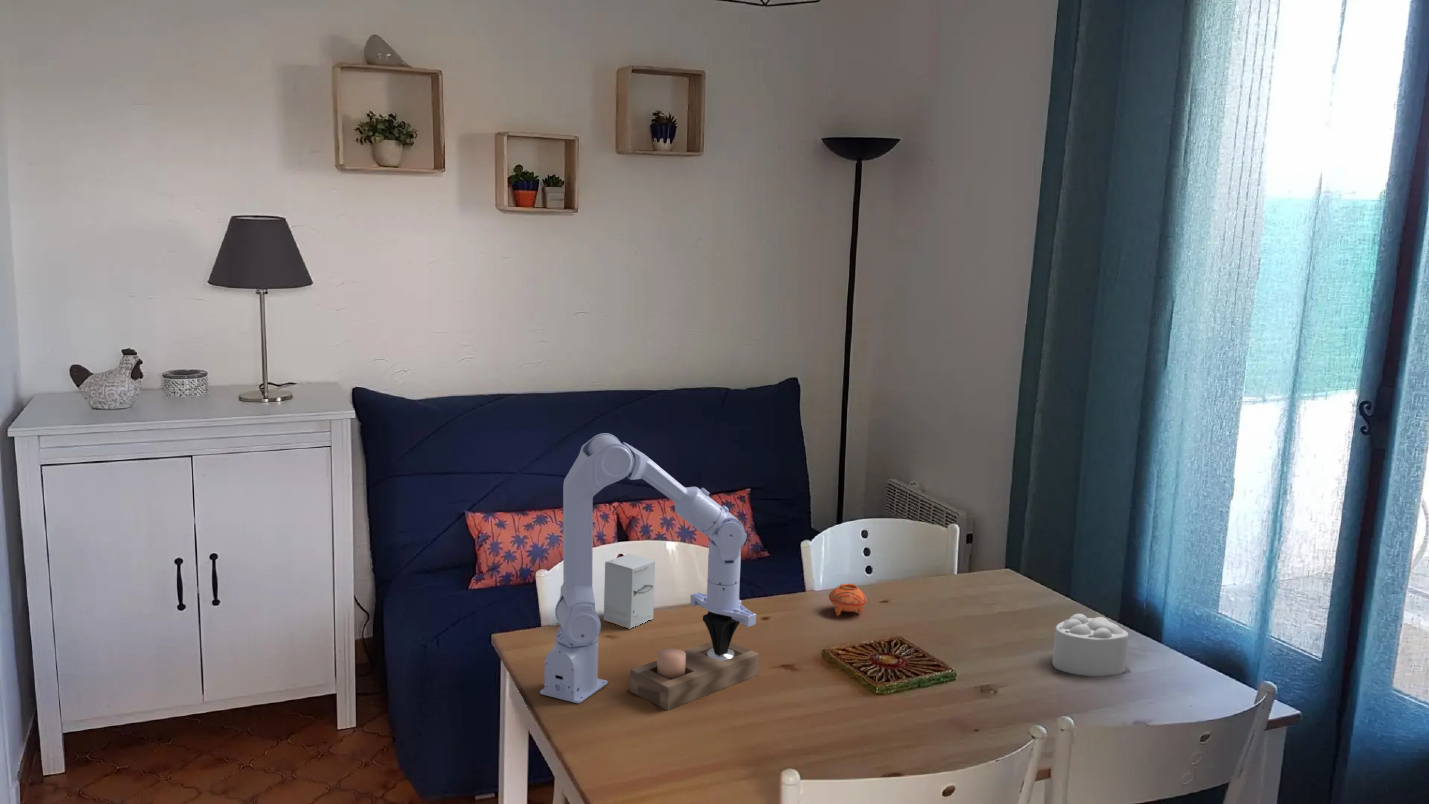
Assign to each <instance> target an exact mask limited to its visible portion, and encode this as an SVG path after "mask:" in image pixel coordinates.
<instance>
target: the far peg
mask: <svg viewBox="0 0 1429 804" xmlns="http://www.w3.org/2000/svg"><path fill="white" fill-rule="evenodd" d="M707 656H709V657H711V658H714V659H716V660H718V661H724V660H727V659H729V658H732V657H734V652H733V651H732V650H730V649H728V652H727V653H725V654H722V655H717V654H715V653H714V649H713V648H712V649H710V650H708V652H707Z"/></svg>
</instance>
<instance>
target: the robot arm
mask: <svg viewBox="0 0 1429 804" xmlns="http://www.w3.org/2000/svg"><path fill="white" fill-rule="evenodd" d="M626 477H627V478H628V479H629V481H630V480H632V481H633V480H644V481H645V482H646V483H648V485H650V486H652V487H653V488H655V489H656V490H657V491H658V492H660V493H661V494H663V495H664V496H666V497H667V498H668V499H670V500H671V501H672V502H673V503H674V509H675V510H674V512H675V513H676V515H678V516H679V517H680V518H682V519H683V520H684V521H686V522H687V523H688V524H690V525H691V526H692V527H694V529H696V530H697V531H698V532H700V533H701V534H702V535H705V536H706V537H707V538H708V539H709V540H708V555H707V557H708V558H707V578H706V579H707V580H706V581H707V583H706V584H707V585H706V586H707V587H706V594H705V593H702V592H699V591H698V592H694V593H692V594H690V605H691V606H694V607H695V606H698V607H701V608H703V609H705V610H706V611H708V612H707V613H706V614H704V615H702V621H703V622H704V624H705V626H706V628H707V630H708V633H709V635H710V639H711V642H712V644H713V649H714V653H715V654H717V655H722V654H725V653H727V652H728V648H729V645H730V642H732V638H733V636H734V633H735V631H736V630H737V629H738V627H739V625H740V623H741V624H744V626H745V627H747V628H749V627H752V626H755V625H756V624H757V613H754V612H752V611H751V610H749V609H748V608H746V607H745V605H743V604H742V600H741V599H740V584H741V583H740V580H741V579H740V578H741V561H742V560H741V559H742V558H741V548H742V547H743V546H744V544H745V543H746V540H747V536H748V534H747V533H746V530H745V529H746V528H745V526H744V524H743V523H742V522H741V521H740V520H739V519H738V518H737V517H735V515H733V514H732V513H731V512H730V511H729V510H730V509H729V508H728V507H727V506H725V505H724V504H723V505H722V506H721V504H720V503H717V502H716V501H715V500H714V499H713V498H711V497H710V496H709V495H710V493H711V492H709V491H708V490H706V488H704V487H701V488H699V487H697V486H689V487H686V486H684V485H682V484H681V483H680V482H678V480H676V479H675V478H674V477H673V476H672V475H670V474H669V473H668V472H667V471H665V470H664V469H663V468H661V466H659V465H658V464H657V463H656V462H655V461H653V460H652V459H651V458H649V456H647V455H646V454H645V453H643V452H641V451H640V450H639V449H637V448H635V447H633V445H630V444H628V443H626V442H624V441H623V442H621V441H620V439H619V438H618V437H616V436H615V435H613V434H611V433H608V432H607V433H606V432H605V433H604V432H603V433H599V434H595V435H594V436H593V437H592V438H591V439H589V440H587V442H585V443H584V444H582V446H581V447H580V451H579V454H578V456H577V458H576V459H575V461H574V462H573V465H572V466H571V468H570V469H569V471H568V473H567V475H566V476H565V477H564V480H563V486H562V489H563V491H562V493H563V495H562V496H563V499H562V500H563V501H562V506H563V507H562V508H563V513H562V514H563V515H562V518H563V519H562V520H563V523H562V524H563V528H562V529H563V530H562V531H563V535H562V536H563V538H562V539H563V541H562V543H563V550H562V552H563V553H562V554H563V556H562V557H563V560H562V561H563V569H562V571H563V574H562V575H563V578H562V579H563V582H562V585H561V586H560V596H559V599H558V601H557V603H556V605H555V608H554V614H555V618H556V620H557V622H558V623H559V625H560V627H559V628H558V629H557V632H556V633H555V643H554V646H553V648H552V649H551V650H550V651H549V652H548V653H547V654H546V656H545V659H544V677H543V678H544V684H543V685H544V687H543V688H542V689H541V690H540V691H539V694H541V695H542V696H543V695H544V696H548V697H551V698H555V699H559V700H562V701H563V700H564V701H567V702H571V703H575V704H580V703H582V702H584V701H585V700H586V699H588V698H589V697H591V696H592V695H593V694H595V693H596V692H598V691H599V690H600V689H602V688H603V687H605V686H606V685H608V680H606V679H602V678H598V677H599V676H598V675H599V673H598V672H599V634H600V632H601V627H602V625H601V620H600V618H599V616H598V614H597V612H596V600H595V599H596V598H595V595H594V588H593V550H594V549H593V547H594V546H593V544H594V542H593V538H594V537H593V535H594V533H593V530H594V528H593V519H594V518H593V515H594V513H593V512H594V511H593V510H594V509H593V503H594V502H593V501H594V499H593V498H594V496H596V495H597V494H598V493H599V492H600V491H601V490H603V489H604V488H605V487H607V486H610V485H612V484H614V483H616V482H619V481H621V480H624V479H625V478H626Z"/></svg>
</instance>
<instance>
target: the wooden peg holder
mask: <svg viewBox="0 0 1429 804" xmlns="http://www.w3.org/2000/svg"><path fill="white" fill-rule="evenodd" d="M712 648H713V644H712V641H708V642H706V643H703V644H700V645H697V646H695V647H691V648H689V649H686V650H683V651H684V652H685V653H686V664H685V675H683V676H680V677H677V678H675V679H672V680H669V679H667V678H665V677H663V676H660V675H658V674H657V660H654V661H651V662H648V663H646V664H642V665H640V666H636V667H634V668H631V669H630V680H629V681H630V684H629V685H630V686H629V687H630V688H629V691H630V692H631V693H632V694H635V695H637V696H638V697H640V698H642V699H645V700H646V701H649V702H650V703H652V704H655V705H657V706H658V707H660V708H663V709H664V710H666V711H670V710H672V709H675V708H677V707H680V706H683V705H685V704H688V703H690V702H693V701H695V700H698V699H700V698H703V697H706V696H708V695H711V694H713V693H716V692H719V691H721V690H723V689H727V688H728V687H731V686H734V685H736V684H738V683H739V684H740V683H741V682H745V681H747V680H750V679H753V678H754V677H756V676H757V677H758V676H759V675H760V655H761V654H760V652H757V651H755V650H752V649H750V648H746V647H744V646H742V645H739V644H737V643H735V642H732V641H731V642H730V645H729V648H728V649H730V650H732V651H733V652H734V657H732V658H729V659H727V660H724V661H718V660H716V659H714V658H711V657H709V656H707V652H708V650H710V649H712Z"/></svg>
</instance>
